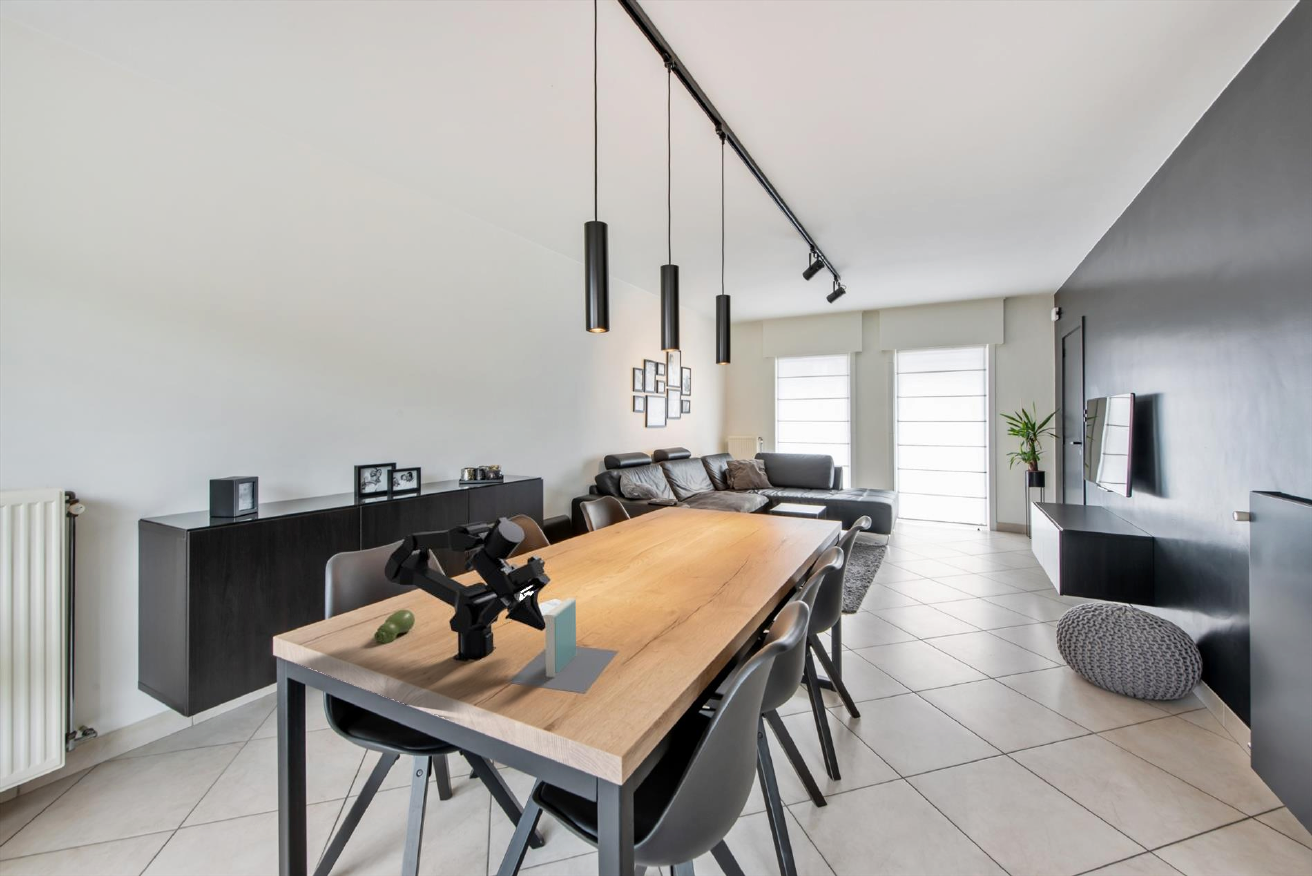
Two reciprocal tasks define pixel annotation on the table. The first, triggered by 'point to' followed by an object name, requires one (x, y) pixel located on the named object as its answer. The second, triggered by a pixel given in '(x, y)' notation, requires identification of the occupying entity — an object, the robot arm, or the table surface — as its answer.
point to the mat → (567, 671)
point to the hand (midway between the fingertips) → (544, 629)
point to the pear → (395, 626)
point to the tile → (560, 636)
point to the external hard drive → (548, 606)
